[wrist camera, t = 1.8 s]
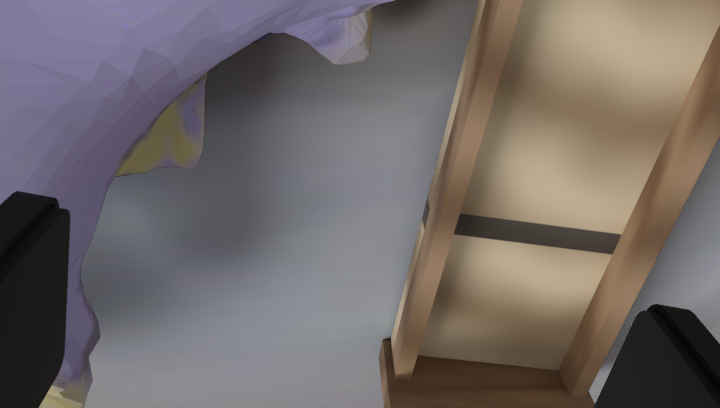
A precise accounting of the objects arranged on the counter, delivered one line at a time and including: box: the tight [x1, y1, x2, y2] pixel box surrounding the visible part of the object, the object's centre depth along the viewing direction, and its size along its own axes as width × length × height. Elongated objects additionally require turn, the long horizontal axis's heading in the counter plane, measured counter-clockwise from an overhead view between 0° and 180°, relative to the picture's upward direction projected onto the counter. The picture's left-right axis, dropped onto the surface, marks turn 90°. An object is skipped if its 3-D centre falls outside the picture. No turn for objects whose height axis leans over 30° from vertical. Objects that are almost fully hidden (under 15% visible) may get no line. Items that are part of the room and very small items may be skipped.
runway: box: [379, 0, 720, 408], centre depth 30 cm, size 23×11×6 cm, turn 171°
